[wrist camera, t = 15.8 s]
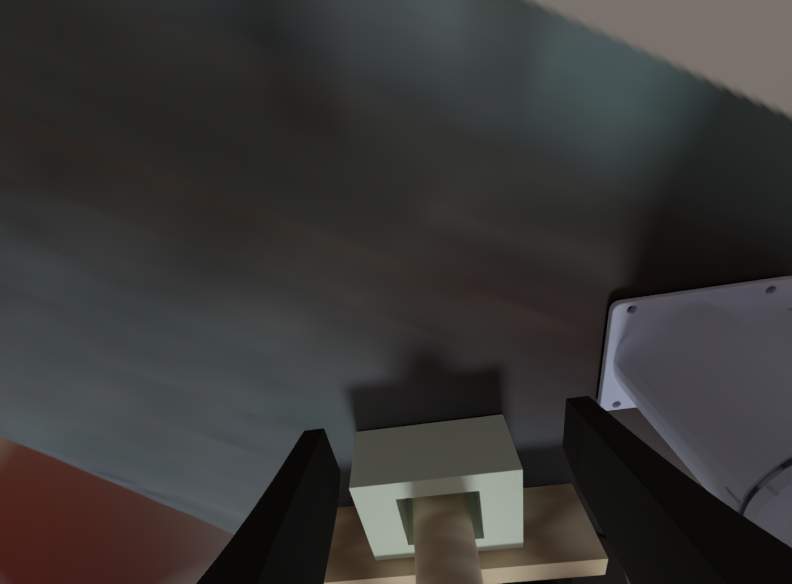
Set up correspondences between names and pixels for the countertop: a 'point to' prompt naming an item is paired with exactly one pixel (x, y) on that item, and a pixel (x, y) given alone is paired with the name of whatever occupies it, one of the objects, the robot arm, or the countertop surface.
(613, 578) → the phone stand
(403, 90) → the countertop surface
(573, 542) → the oak wall
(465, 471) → the socket block
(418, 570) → the dowel
